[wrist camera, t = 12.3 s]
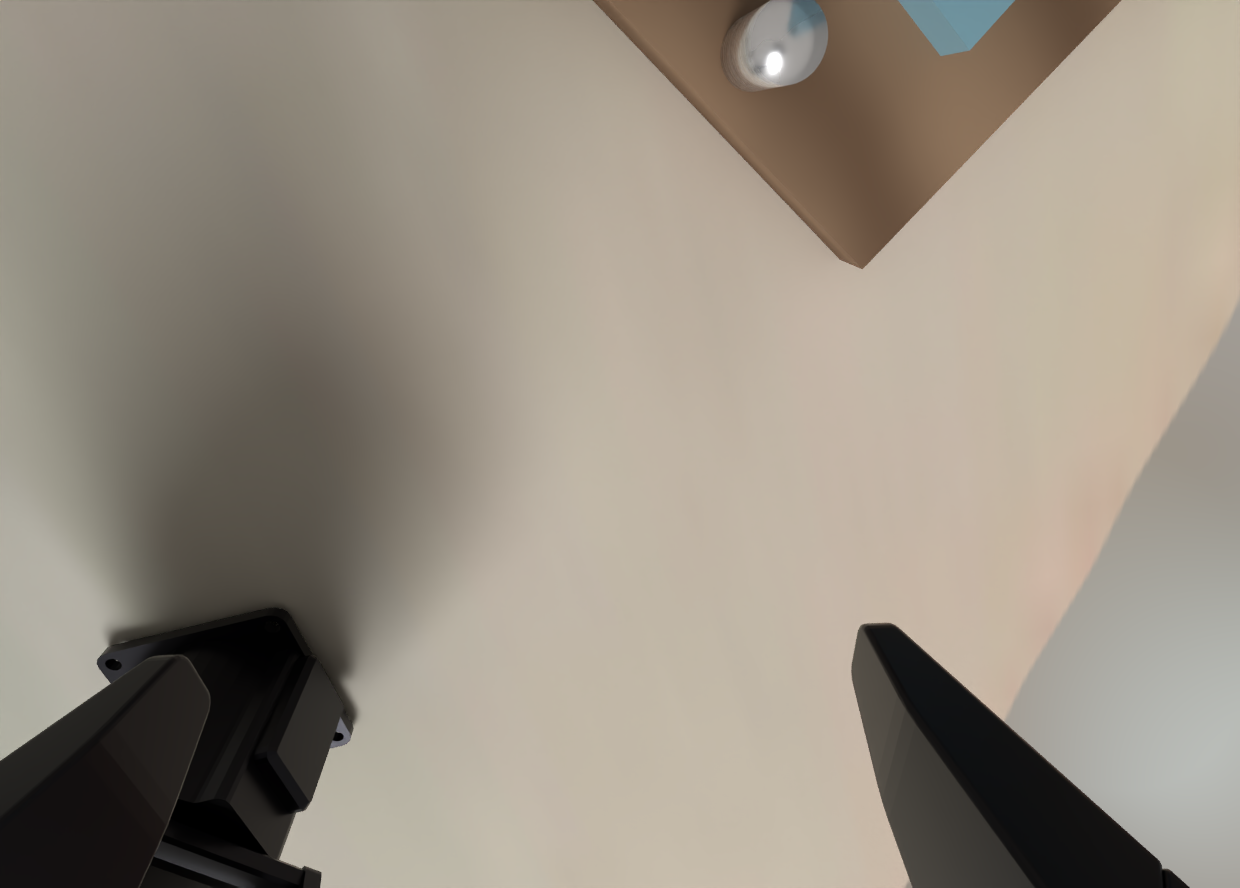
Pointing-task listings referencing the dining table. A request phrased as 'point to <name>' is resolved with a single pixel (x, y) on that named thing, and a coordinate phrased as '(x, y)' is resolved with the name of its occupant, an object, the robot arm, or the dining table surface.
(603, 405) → the dining table surface
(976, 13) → the stepped blue block
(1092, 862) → the robot arm
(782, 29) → the dowel pins
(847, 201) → the walnut base plate
